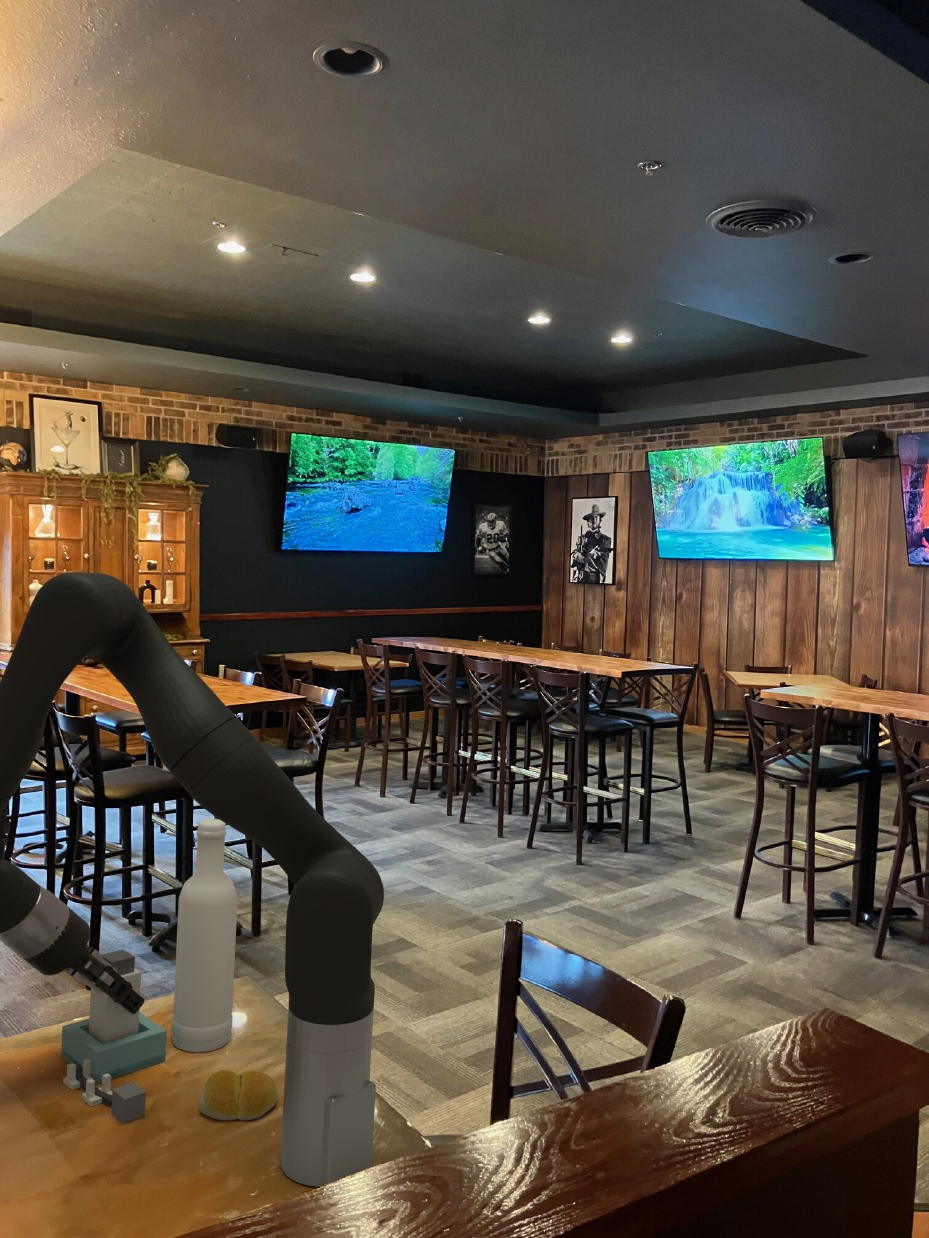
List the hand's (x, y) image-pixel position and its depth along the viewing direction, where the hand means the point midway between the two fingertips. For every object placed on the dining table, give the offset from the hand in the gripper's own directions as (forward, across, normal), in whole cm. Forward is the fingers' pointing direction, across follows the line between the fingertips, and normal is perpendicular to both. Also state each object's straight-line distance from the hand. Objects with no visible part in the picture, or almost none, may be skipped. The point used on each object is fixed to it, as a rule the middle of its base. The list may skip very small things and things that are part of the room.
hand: (128, 1000), depth 128 cm
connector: (+2, 0, +5) cm, 5 cm away
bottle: (+12, -2, -2) cm, 12 cm away
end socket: (+4, 0, +6) cm, 7 cm away
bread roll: (+8, -20, +3) cm, 22 cm away
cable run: (0, -8, +11) cm, 13 cm away
